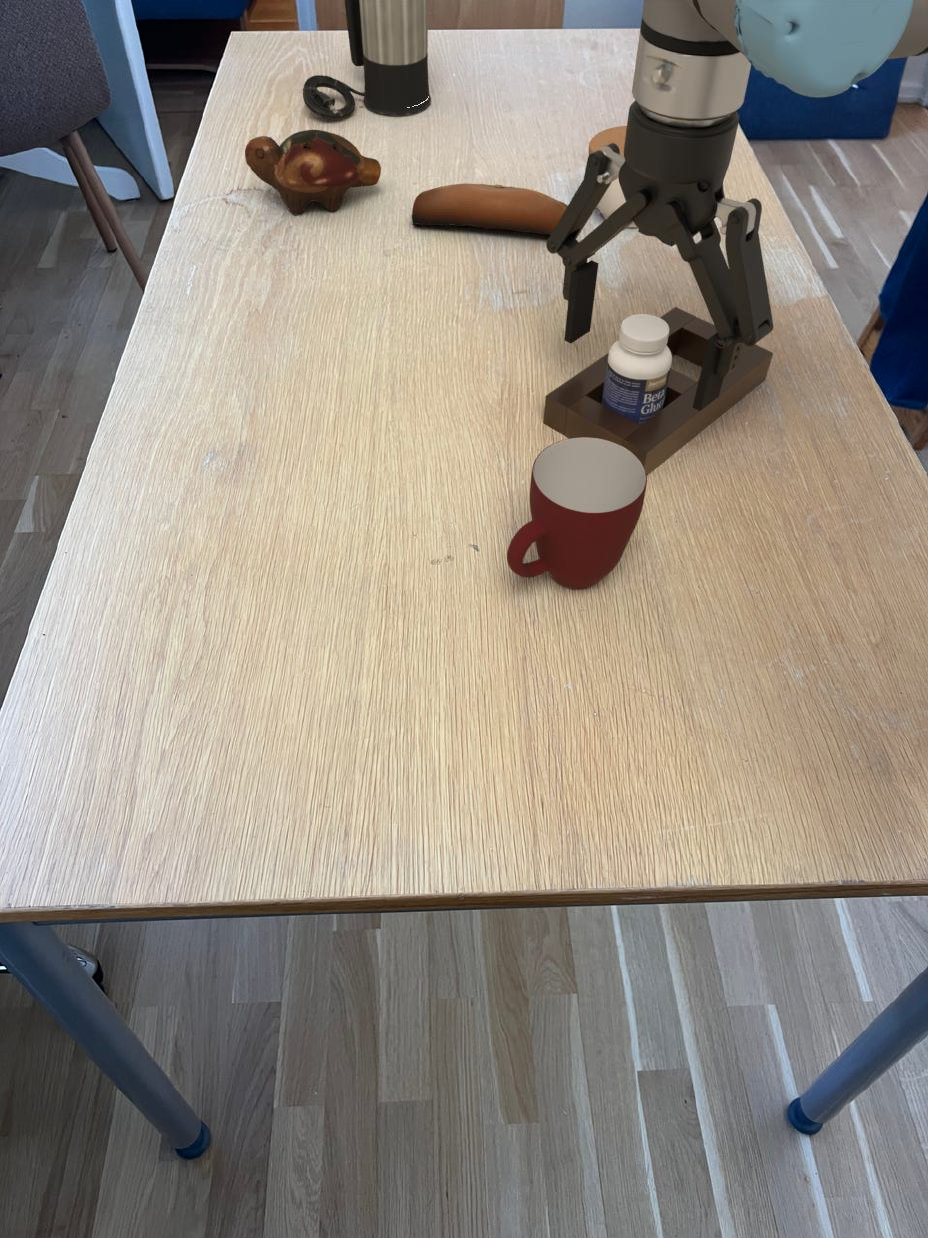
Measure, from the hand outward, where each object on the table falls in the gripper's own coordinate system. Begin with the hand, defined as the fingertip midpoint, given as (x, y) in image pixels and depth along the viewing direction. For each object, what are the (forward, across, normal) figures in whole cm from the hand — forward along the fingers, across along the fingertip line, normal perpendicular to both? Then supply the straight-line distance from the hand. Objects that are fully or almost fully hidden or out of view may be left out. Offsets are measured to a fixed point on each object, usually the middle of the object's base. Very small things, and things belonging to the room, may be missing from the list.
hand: (639, 368), depth 81 cm
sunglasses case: (+6, -33, +18) cm, 38 cm away
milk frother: (+6, -66, +29) cm, 72 cm away
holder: (+6, 0, +4) cm, 7 cm away
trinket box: (+6, -23, +30) cm, 38 cm away
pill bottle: (+6, 0, 0) cm, 6 cm away
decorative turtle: (+6, -51, +7) cm, 52 cm away
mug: (+6, +8, -19) cm, 21 cm away
